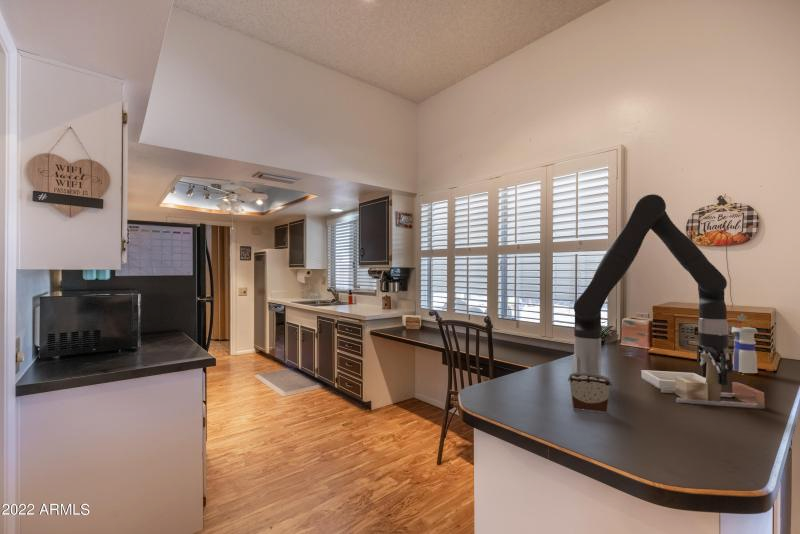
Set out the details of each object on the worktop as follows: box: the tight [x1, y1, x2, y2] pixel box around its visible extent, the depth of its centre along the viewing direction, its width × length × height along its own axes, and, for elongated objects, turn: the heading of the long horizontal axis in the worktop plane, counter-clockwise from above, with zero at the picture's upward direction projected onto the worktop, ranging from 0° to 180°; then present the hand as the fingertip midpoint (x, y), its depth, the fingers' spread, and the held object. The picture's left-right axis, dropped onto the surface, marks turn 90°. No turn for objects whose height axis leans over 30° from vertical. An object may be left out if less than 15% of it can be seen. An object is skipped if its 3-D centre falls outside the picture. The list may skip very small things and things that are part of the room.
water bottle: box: [731, 313, 759, 373], centre depth 154 cm, size 8×9×25 cm
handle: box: [700, 353, 722, 401], centre depth 119 cm, size 5×6×15 cm
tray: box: [641, 369, 706, 390], centre depth 135 cm, size 18×14×3 cm
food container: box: [567, 372, 614, 413], centre depth 112 cm, size 12×6×10 cm, turn 71°
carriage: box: [675, 376, 709, 400], centre depth 121 cm, size 6×7×6 cm
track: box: [660, 381, 766, 410], centre depth 119 cm, size 24×11×5 cm, turn 78°
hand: (714, 380), depth 119 cm, fingers open, 8 cm apart
